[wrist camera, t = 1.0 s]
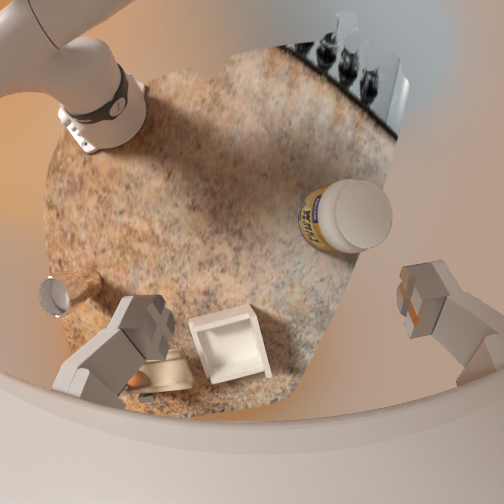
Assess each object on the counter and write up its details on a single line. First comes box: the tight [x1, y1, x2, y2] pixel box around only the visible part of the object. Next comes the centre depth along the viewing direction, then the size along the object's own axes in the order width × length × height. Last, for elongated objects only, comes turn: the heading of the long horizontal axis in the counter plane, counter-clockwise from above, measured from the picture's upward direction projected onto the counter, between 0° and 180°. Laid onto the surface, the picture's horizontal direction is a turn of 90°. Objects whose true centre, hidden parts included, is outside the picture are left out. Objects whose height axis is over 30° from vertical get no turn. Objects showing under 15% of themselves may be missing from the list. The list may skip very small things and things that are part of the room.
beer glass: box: [38, 268, 102, 318], centre depth 42 cm, size 7×7×15 cm
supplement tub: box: [297, 179, 392, 254], centre depth 47 cm, size 12×12×17 cm
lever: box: [117, 347, 195, 397], centre depth 40 cm, size 16×8×16 cm, turn 104°
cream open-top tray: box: [188, 304, 272, 384], centre depth 49 cm, size 12×12×9 cm
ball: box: [127, 371, 141, 387], centre depth 42 cm, size 3×3×3 cm
